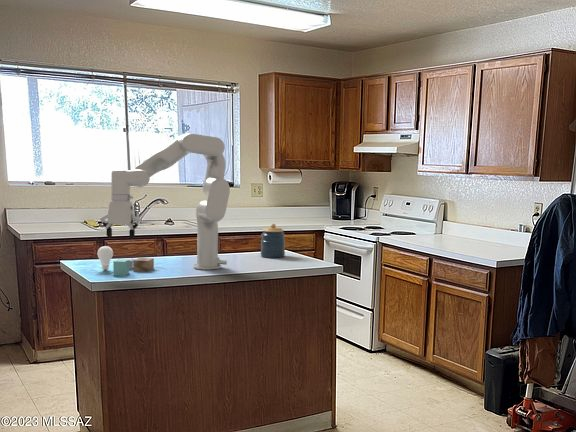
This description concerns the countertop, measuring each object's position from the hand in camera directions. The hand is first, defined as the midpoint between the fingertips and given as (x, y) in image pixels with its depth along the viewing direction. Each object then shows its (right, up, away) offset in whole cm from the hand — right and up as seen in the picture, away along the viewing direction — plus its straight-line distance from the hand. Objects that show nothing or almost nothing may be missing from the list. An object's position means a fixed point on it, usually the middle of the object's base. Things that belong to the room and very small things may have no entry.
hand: (120, 238), depth 226 cm
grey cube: (-1, -15, +14) cm, 21 cm away
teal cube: (0, -16, +1) cm, 16 cm away
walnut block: (+7, -15, +12) cm, 20 cm away
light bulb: (-9, -15, +8) cm, 20 cm away
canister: (+64, -12, +56) cm, 86 cm away
